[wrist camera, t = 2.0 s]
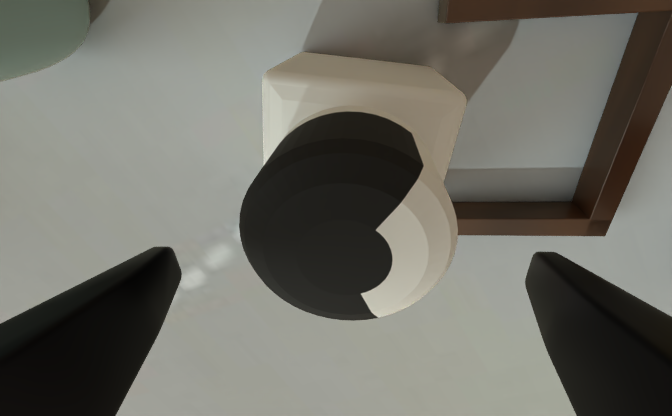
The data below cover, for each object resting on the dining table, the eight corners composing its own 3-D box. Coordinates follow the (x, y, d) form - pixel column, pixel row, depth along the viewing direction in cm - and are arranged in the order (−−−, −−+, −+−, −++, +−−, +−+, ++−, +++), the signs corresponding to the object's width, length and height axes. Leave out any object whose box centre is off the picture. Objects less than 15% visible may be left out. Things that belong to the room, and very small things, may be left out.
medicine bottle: (294, 174, 21) (220, 332, 10) (298, 50, 17) (190, 104, 7) (406, 188, 21) (444, 363, 10) (435, 66, 17) (538, 145, 7)
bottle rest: (679, -23, 14) (722, -28, 13) (585, 218, 21) (605, 236, 19) (439, -7, 15) (448, -10, 14) (419, 217, 22) (424, 235, 20)
